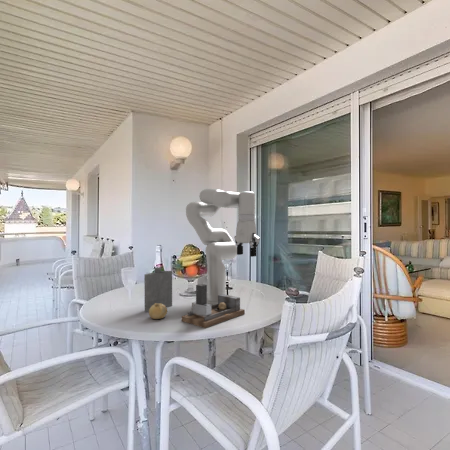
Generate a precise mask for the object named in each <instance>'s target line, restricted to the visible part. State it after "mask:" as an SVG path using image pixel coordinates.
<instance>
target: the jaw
mask: <svg viewBox="0 0 450 450" xmlns="http://www.w3.org/2000/svg"><path fill="white" fill-rule="evenodd" d="M211 306H212V305H210V304H207V285H205V284H199V285H197V284H196V285H195V301H194V302H191V311H192V314H196V315H200V316H203V317H206V316H209V315H211Z"/></svg>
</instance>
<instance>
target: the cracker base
mask: <svg viewBox="0 0 450 450" xmlns="http://www.w3.org/2000/svg"><path fill="white" fill-rule="evenodd" d="M221 302H224V303H225V304H226V309H225V310H220V309H219V304H220V303H221ZM245 310H246V309H244V308H241V297H239V296H233V295H231V294H226V295H225V294H220V295H218V304H216V305H211V315H209V316H206V317H203V316H200V315H196V314H192V310H191V311H188V312H187V314H185V315H181V322H184V323H187V324H191V325H194V326H197V327H200V328H203V329H206V328H209V327H212V326H216V325H217V324H220V323H223V322H226V321H229V320H232V319H234V318H237V317H240V316H242V315H245V312H246V311H245Z"/></svg>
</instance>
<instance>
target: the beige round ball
mask: <svg viewBox="0 0 450 450" xmlns="http://www.w3.org/2000/svg"><path fill="white" fill-rule="evenodd" d="M219 309H220V310H225V309H226V304H225V303H224V302H221V303H220V304H219Z"/></svg>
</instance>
